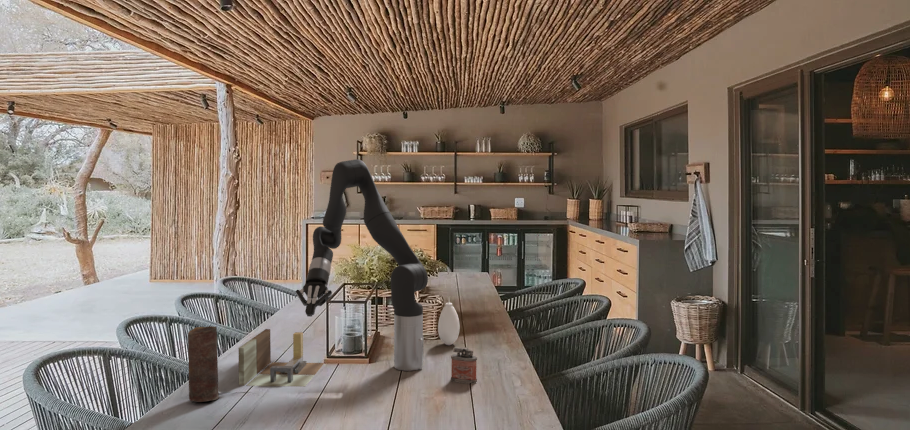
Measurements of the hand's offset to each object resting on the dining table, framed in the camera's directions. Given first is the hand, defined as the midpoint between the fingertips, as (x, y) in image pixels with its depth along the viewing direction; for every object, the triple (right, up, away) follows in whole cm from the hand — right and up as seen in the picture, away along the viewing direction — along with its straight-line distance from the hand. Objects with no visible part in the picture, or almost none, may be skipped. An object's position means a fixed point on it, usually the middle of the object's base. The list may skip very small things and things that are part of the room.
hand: (309, 315), depth 194 cm
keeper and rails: (-2, -15, -17) cm, 23 cm away
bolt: (-1, -14, -13) cm, 19 cm away
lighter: (+51, -16, -20) cm, 58 cm away
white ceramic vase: (+46, -14, +20) cm, 53 cm away
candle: (-19, -17, -37) cm, 45 cm away
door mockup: (-3, -16, -18) cm, 24 cm away
